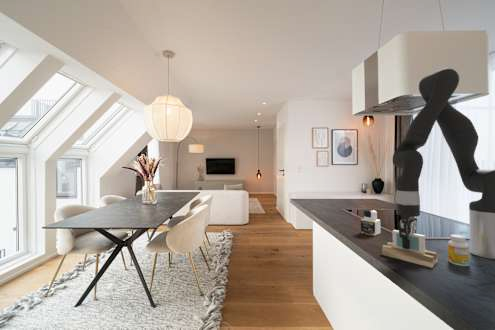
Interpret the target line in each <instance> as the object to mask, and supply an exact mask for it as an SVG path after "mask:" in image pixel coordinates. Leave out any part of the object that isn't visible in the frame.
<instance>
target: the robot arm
mask: <svg viewBox="0 0 495 330" xmlns="http://www.w3.org/2000/svg"><path fill="white" fill-rule="evenodd" d="M459 82H460V76H459V73H458V71H456V70H455V69H453V68H447V67H446V68H443V69H440V70H438V71H435V72H433V73H431V74H429V75H426V76H425V77H423V78H422V79H420V81H419V83H418V90H419V93H420V95H421V98H422V99H423V100H424V102H425V105H424V106H423V107H422V109H420V111H419V112H418V113H417V115H416V116H415V117H414V118H413V119H412V121H411V123H410V125H409V127H408V129H407V132H406V133H405V136H404V139H403V140H402V141H401V143H400V144H399V145H398V146H397V148H396V150H394V153H393V155H392V164H393V165H394V167H396V168H398V169H402V172H401V175H398V176H397V177H396V195H395V212H396V215H399V216H400V217H401V219H400V221H399V222H398V223H397V225H398V231H399V236H400V238H402V247H403V248H404V249H410V234H411V233H415V234H417V227H418V226H417V225H418V223H417V222H418V218H417V217H420V216H421V196H420V191H419V190H420V186H419V184H420V183H419V182H420V181H419V180H420V177H421V174H422V170H423V165H424V159H423V155H422V153H421V152H420V151H418V149H420V148H422V147H424V146H425V145H426V144H427V141H428V139H429V136H430V135H431V132H432V131H433V130H432V129H433V128H434V125H435V123H437V124H438V127H439V128H440V131H441V134H442V136H443V138H444V140H445V142H446V144H447V145H448V147H449V150H450V152H451V154H452V157H453V159H454V161H455V164H456V166H457V169H458V173H459V175H460V179H461V182H462V185H463V186H464V187H465V188H466V190H468V191H470V192H473V193H481V198H480V199H478V200H474V201H471V202H469V207H468V208H469V209H468V211H469V214H468V215H469V252H470V254H472V255H475V256H476V257H479V258H480V257H481V258H485V259H491V260H495V169H480V167H479V166H478V164H477V162H476V159H475V153H476V149H477V146H478V144H479V143H478V142H479V135H478V133H477V129H476V127H475V126H474V123H473V122H472V120H471V119H470V118H469V117H467V116H466V115H465V114H464V113H462V112H461V111H459V110H458V109H456V108H455V107H454V106H452V104H451V103H450V102H449V100H450V99H451V97H452V96H453V94H454V93H455V91H456V90H457V87H458V86H459ZM404 233H405V235H404Z"/></svg>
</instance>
